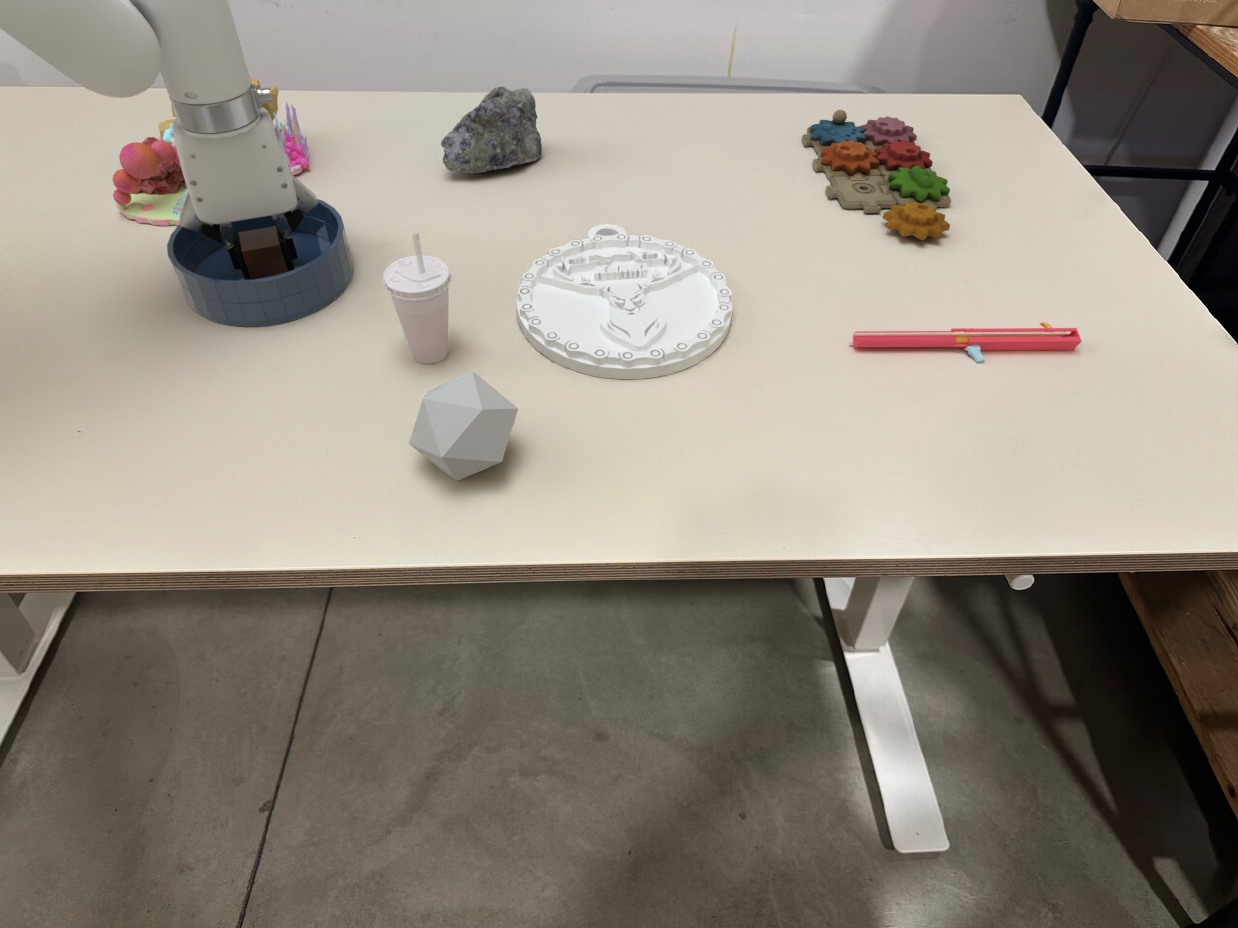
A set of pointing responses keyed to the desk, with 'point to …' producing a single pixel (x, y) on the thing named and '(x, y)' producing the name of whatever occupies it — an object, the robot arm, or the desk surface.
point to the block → (262, 252)
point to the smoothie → (421, 302)
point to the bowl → (270, 298)
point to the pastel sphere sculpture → (157, 178)
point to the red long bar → (975, 339)
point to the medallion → (624, 305)
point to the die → (463, 426)
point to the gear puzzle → (881, 172)
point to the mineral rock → (494, 134)
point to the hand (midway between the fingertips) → (268, 267)
